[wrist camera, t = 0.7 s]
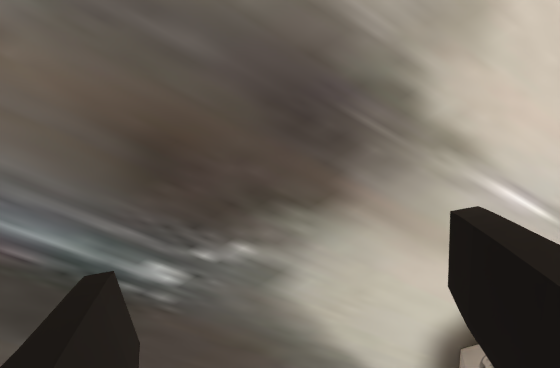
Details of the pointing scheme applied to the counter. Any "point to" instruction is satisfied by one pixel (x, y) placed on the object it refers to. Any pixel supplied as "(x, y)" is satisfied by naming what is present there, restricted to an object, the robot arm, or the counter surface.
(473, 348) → the pale grey faceted polyhedron
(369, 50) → the counter surface
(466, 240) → the robot arm
